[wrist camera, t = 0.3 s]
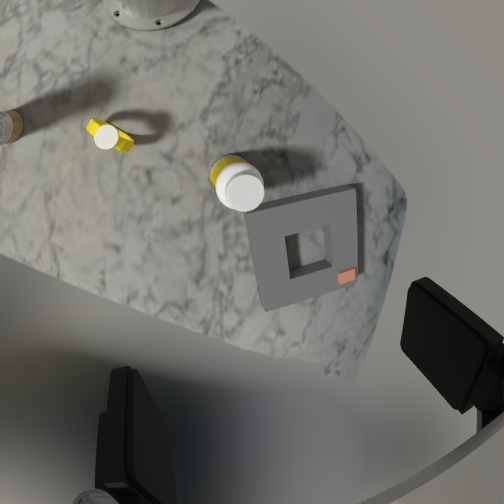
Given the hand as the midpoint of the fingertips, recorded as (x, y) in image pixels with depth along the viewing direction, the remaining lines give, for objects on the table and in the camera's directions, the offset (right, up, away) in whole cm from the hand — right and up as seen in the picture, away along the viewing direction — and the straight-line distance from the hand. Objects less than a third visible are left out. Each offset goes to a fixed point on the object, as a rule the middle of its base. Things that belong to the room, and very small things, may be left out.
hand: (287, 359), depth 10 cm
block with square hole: (+7, +4, +39) cm, 39 cm away
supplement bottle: (-4, +14, +32) cm, 35 cm away
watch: (-18, +18, +25) cm, 36 cm away
